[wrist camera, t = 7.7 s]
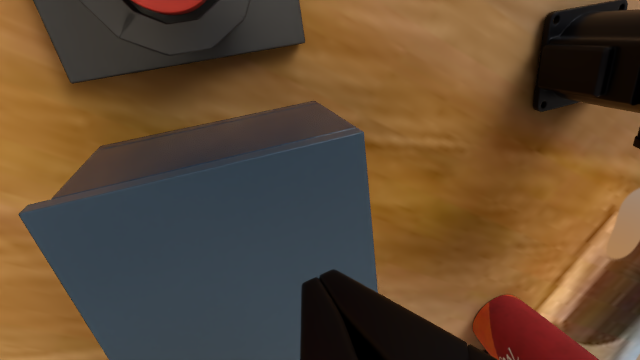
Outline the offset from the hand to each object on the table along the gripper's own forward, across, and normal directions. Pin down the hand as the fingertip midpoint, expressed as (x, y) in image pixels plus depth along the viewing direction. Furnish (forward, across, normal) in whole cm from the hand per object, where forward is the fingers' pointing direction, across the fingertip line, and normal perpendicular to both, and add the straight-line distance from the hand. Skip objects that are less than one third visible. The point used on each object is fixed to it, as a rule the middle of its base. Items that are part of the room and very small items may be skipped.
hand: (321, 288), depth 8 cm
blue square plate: (+7, +2, +4) cm, 9 cm away
